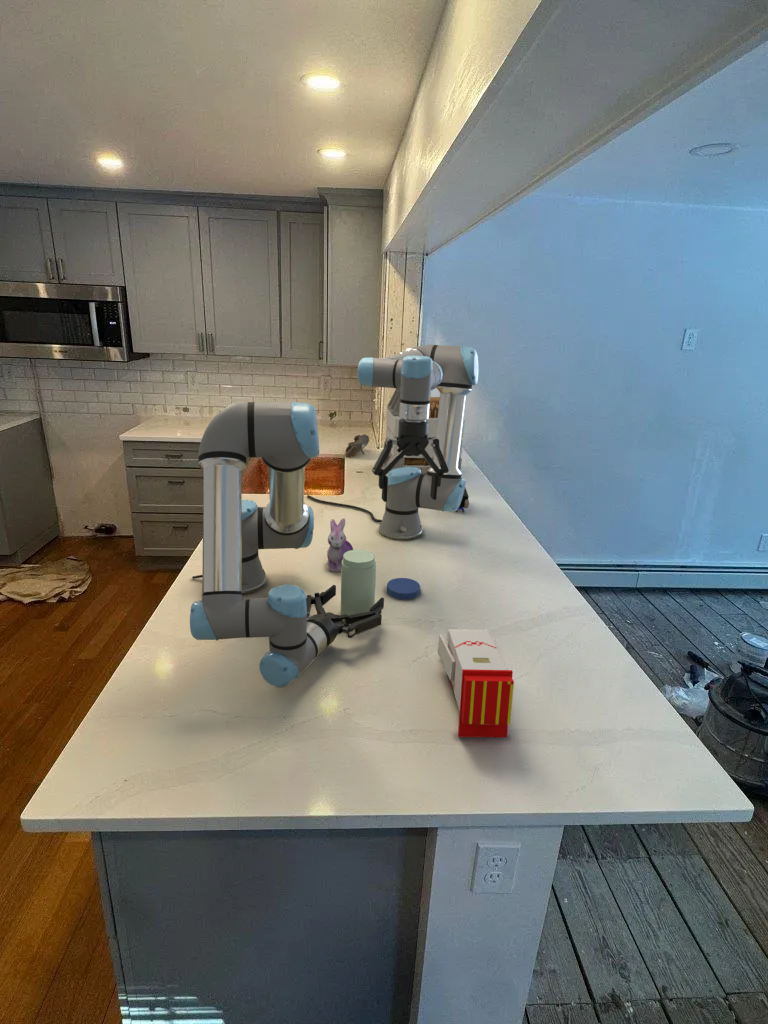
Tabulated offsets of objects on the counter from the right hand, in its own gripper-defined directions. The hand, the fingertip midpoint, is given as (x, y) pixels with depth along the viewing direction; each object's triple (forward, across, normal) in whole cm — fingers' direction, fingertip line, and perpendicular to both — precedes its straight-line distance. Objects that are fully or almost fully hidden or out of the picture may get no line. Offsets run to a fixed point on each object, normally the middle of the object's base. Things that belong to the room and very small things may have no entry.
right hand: (409, 499), depth 150 cm
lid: (+26, 0, 0) cm, 26 cm away
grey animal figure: (+28, +19, +156) cm, 160 cm away
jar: (+27, -16, -12) cm, 34 cm away
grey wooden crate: (+28, +42, +116) cm, 126 cm away
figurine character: (+28, +42, +64) cm, 82 cm away
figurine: (+27, -15, +19) cm, 36 cm away
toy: (+27, +1, -46) cm, 53 cm away
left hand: (+21, -16, -12) cm, 29 cm away
